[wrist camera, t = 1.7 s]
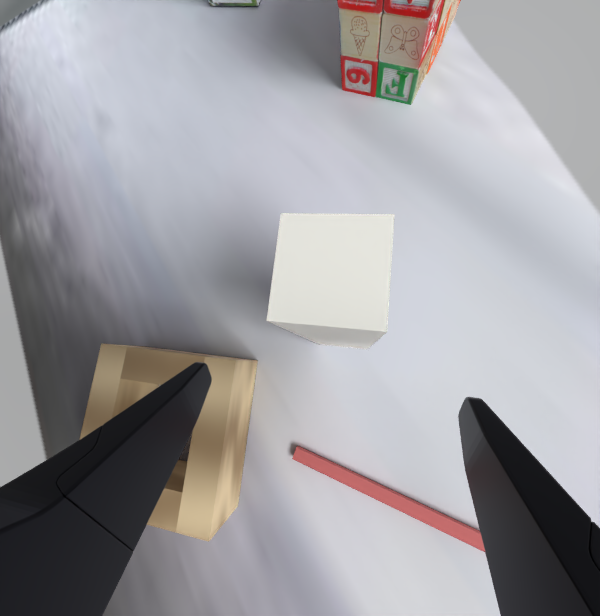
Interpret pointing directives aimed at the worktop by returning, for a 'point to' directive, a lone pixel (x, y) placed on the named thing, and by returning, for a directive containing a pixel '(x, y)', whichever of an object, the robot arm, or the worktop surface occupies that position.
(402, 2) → the stack of blocks
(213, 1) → the syrup box
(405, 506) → the red square stick
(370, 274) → the white rectangular block
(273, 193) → the worktop surface
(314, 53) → the worktop surface
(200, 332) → the worktop surface
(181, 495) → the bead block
